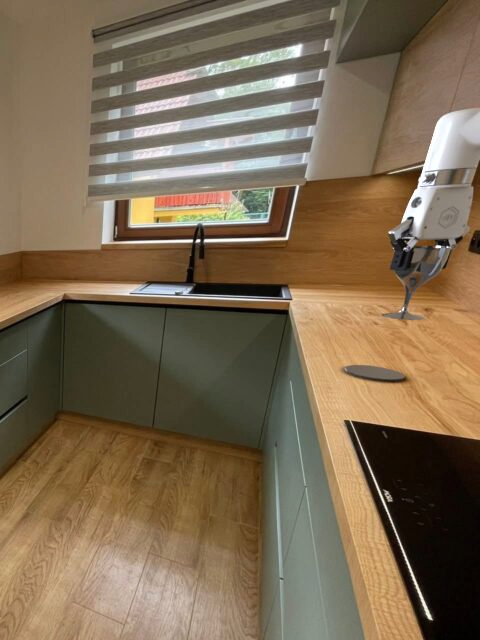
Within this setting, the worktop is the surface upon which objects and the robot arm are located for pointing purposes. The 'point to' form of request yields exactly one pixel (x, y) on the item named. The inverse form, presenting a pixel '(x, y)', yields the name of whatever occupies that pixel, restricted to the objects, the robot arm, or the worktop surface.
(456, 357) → the worktop surface
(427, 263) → the wine glass
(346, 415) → the worktop surface
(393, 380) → the coaster
